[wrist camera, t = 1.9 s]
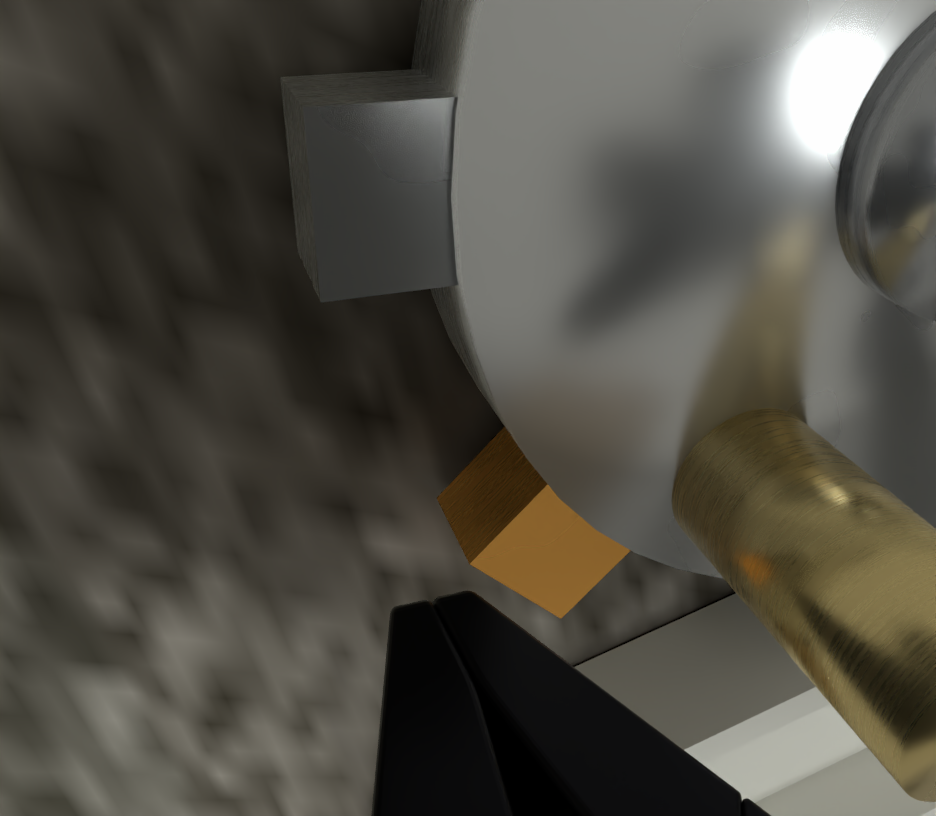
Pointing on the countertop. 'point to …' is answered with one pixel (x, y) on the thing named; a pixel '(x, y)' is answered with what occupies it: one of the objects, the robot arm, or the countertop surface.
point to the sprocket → (673, 303)
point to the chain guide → (750, 716)
